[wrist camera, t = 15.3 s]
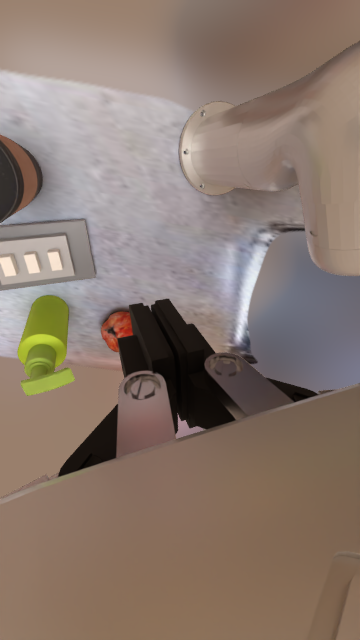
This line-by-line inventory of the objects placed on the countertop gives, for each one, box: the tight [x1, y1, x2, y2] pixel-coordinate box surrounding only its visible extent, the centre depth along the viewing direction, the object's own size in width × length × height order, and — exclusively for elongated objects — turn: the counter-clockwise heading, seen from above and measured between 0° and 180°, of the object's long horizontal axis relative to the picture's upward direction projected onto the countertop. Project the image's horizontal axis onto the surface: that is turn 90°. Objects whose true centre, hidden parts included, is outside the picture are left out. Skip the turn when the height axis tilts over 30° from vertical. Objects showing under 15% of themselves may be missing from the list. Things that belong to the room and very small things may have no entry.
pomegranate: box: [101, 312, 133, 352], centre depth 50 cm, size 7×7×10 cm
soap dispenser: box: [18, 295, 75, 396], centre depth 39 cm, size 6×7×20 cm
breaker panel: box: [0, 219, 96, 291], centre depth 40 cm, size 16×9×6 cm, turn 92°
